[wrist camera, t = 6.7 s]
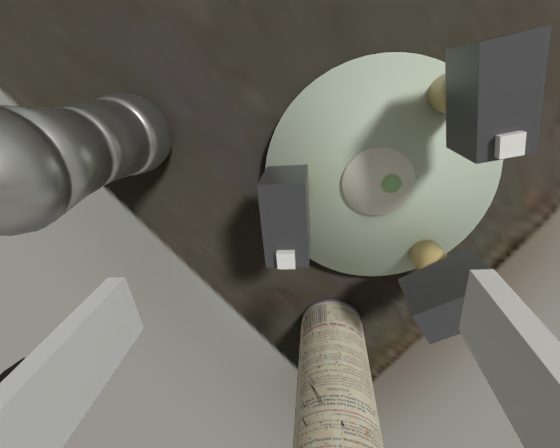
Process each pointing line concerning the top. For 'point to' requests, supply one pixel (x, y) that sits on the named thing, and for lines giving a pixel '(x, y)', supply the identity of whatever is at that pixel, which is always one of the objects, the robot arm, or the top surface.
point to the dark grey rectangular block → (285, 216)
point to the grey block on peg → (494, 95)
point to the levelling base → (380, 165)
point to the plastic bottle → (73, 154)
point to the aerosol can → (334, 381)
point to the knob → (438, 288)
